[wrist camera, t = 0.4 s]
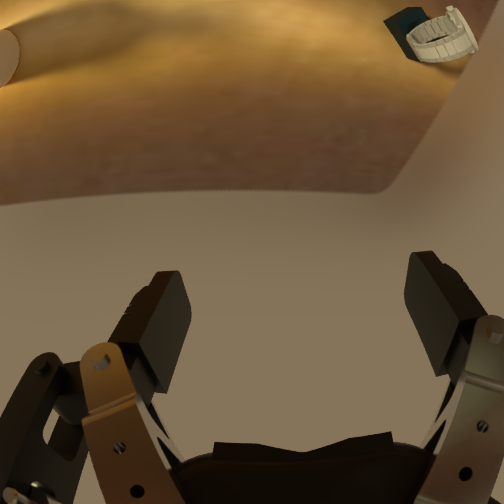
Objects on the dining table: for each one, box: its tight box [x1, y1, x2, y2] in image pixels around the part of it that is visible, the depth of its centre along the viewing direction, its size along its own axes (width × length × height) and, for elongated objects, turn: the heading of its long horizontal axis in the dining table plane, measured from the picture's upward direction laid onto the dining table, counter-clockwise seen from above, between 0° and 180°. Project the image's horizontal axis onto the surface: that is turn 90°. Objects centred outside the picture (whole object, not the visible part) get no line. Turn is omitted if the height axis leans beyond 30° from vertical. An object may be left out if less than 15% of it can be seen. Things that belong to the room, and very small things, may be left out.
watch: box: [383, 6, 479, 62], centre depth 20 cm, size 6×8×11 cm
